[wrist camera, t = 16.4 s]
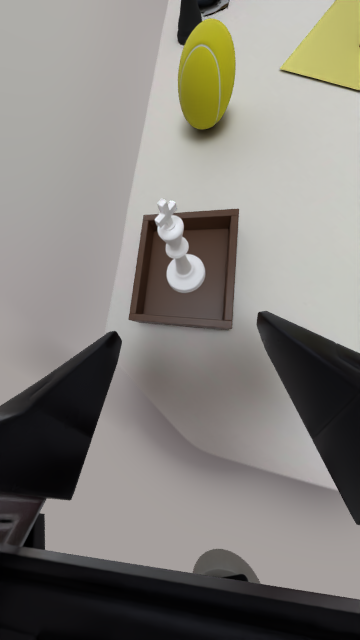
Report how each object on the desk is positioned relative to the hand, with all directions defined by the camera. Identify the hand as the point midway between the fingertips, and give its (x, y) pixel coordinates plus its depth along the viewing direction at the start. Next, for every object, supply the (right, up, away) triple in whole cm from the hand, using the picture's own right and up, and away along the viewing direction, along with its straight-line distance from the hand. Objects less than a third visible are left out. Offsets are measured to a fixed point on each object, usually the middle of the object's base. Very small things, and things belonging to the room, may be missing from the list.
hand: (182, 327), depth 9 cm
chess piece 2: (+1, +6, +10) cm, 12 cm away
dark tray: (+1, +6, +10) cm, 12 cm away
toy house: (+26, +37, +10) cm, 47 cm away
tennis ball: (+4, +30, +13) cm, 33 cm away
